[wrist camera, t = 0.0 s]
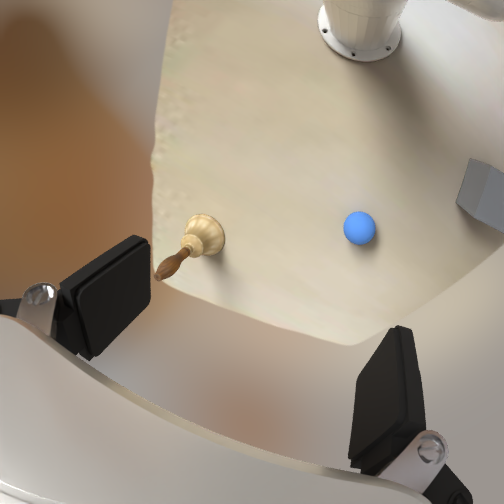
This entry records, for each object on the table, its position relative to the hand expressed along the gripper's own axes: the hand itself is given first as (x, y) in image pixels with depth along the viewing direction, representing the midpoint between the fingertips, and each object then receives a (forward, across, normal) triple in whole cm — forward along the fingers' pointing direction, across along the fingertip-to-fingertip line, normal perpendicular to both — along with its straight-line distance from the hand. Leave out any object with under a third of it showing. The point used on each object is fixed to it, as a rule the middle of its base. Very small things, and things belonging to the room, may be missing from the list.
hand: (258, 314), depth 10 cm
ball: (+34, -8, +7) cm, 36 cm away
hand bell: (+37, +18, +18) cm, 45 cm away
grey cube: (+37, -26, -6) cm, 45 cm away
